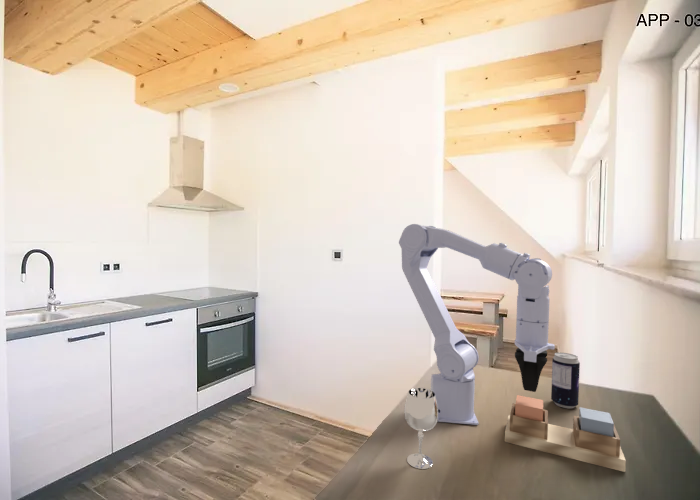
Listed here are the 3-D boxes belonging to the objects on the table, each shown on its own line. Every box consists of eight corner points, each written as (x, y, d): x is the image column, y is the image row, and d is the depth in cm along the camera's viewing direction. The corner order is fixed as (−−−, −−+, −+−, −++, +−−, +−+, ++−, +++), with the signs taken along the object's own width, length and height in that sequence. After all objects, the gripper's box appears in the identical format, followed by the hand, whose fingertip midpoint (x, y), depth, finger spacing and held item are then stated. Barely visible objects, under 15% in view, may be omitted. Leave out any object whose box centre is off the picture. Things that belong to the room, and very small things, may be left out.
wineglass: (413, 448, 68) (415, 384, 68) (442, 460, 65) (444, 392, 65) (396, 462, 64) (398, 393, 64) (427, 475, 60) (429, 403, 60)
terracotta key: (515, 418, 72) (515, 403, 72) (516, 409, 76) (517, 395, 76) (542, 425, 70) (543, 409, 70) (542, 414, 74) (543, 400, 74)
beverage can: (582, 411, 86) (584, 360, 86) (555, 408, 87) (557, 357, 87) (572, 401, 92) (574, 353, 91) (547, 398, 93) (549, 351, 92)
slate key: (581, 433, 67) (581, 417, 67) (578, 422, 71) (579, 407, 71) (613, 440, 65) (613, 423, 65) (609, 428, 69) (609, 413, 69)
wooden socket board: (504, 441, 72) (505, 416, 72) (508, 424, 79) (509, 401, 79) (625, 472, 63) (626, 442, 63) (617, 449, 70) (618, 423, 70)
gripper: (556, 329, 65) (553, 406, 65) (554, 316, 77) (552, 380, 78) (512, 324, 68) (510, 398, 68) (517, 312, 81) (515, 374, 81)
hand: (530, 388), depth 73 cm, fingers closed
